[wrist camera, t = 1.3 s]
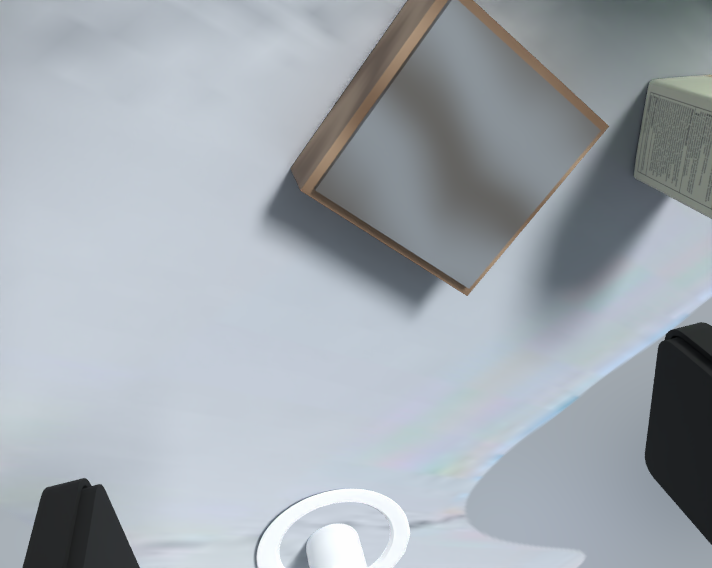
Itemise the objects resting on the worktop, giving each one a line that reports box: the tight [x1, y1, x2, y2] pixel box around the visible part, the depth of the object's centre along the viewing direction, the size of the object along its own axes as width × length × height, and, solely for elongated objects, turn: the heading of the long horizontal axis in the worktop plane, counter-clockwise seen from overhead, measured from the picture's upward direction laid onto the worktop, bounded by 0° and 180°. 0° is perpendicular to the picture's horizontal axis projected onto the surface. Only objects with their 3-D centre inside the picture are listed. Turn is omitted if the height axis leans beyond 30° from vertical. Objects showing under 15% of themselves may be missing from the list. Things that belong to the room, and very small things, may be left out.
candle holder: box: [257, 489, 410, 568], centre depth 49 cm, size 12×12×4 cm
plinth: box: [291, 0, 609, 296], centre depth 35 cm, size 12×12×4 cm
